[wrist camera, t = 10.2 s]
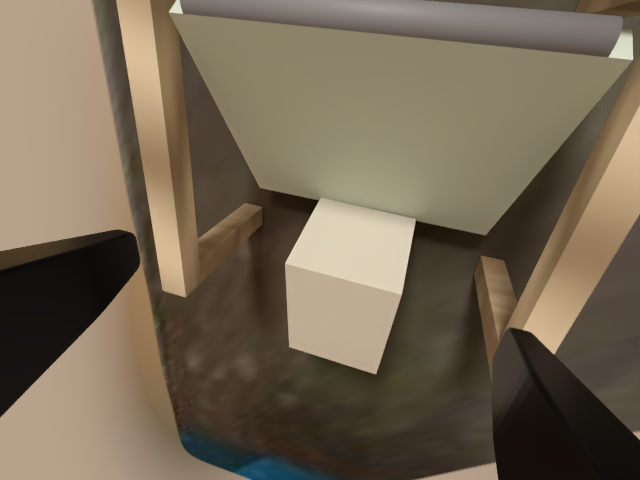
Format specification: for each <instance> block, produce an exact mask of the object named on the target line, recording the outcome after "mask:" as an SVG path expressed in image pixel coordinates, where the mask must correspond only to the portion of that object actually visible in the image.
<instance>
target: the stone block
mask: <svg viewBox="0 0 640 480" xmlns="http://www.w3.org/2000/svg"><path fill="white" fill-rule="evenodd" d="M415 222H416V219H415V218H410V217H406V216H401V215H397V214H392V213H388V212H384V211H379V210H375V209H370V208H366V207H361V206H357V205H352V204H348V203H343V202H339V201H334V200H330V199H325V198H320V200H319V202H318V204H317V205H316V207H315V209H314V211H313V213H312V215H311V217H310V218H309V220H308V222H307V224H306V226H305V228H304V229H303V231H302V233H301V235H300V237H299V239H298V241H297V242H296V244H295V246H294V248H293V250H292V252H291V254H290V255H289V257H288V259H287V261H286V263H285V271H286V291H287V311H288V331H289V347H291V348H294V349H297V350H300V351H304V352H307V353H310V354H313V355H316V356H319V357H322V358H326V359H329V360H332V361H335V362H338V363H341V364H344V365H347V366H351V367H354V368H357V369H360V370H363V371H366V372H369V373H373V374H376V373H377V370H378V367H379V364H380V361H381V358H382V354H383V351H384V348H385V345H386V342H387V339H388V336H389V333H390V330H391V327H392V324H393V320H394V317H395V314H396V311H397V308H398V305H399V302H400V299H401V296H402V291H403V286H404V280H405V275H406V270H407V264H408V259H409V254H410V249H411V243H412V238H413V233H414V227H415Z"/></svg>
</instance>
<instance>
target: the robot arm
mask: <svg viewBox="0 0 640 480" xmlns="http://www.w3.org/2000/svg"><path fill="white" fill-rule="evenodd" d="M139 265H140V255H139V250H138V245H137V240H136V237H135V235H134V234H133V233H130V232H127V231H123V230H112V231H107V232H101V233H96V234H90V235H85V236H79V237H75V238H69V239H63V240H58V241H53V242H47V243H42V244H37V245H31V246H26V247H21V248H15V249H10V250H5V251H0V417H1V416H2V415H3V414H4V413H5V412H6V411H7V410H8V409H9V408H10V407H11V406H12V405H13V404H14V403H15V402H16V401H17V400H18V399H19V398H20V397H21V396H22V395H23V394H24V393H25V391H26V390H28V389H29V387H30V386H31V385H32V384H33V383H34V382H35V381H36V380H37V379H38V378H39V377H40V376H41V375H42V374H43V373H44V372H45V371H46V370H47V369H48V368H49V367H50V366H51V365H52V364H53V363H54V362H55V361H56V360H57V359H58V358H59V357H60V356H61V355H62V353H64V352H65V351H66V350H67V348H69V347H70V346H71V345H72V343H73V342H74V341H75V340H76V339H77V338H78V337H79V336H80V335H81V334H82V333H83V332H84V331H85V330H86V329H87V328H88V327H89V326H90V325H91V324H92V323H93V322H94V321H95V320H96V319H97V318H98V317H99V316H100V314H101V313H102V312H103V311H104V310H105V309H106V307H107V306H108V305H109V304H110V303H111V302H112V300H113V299H114V298H115V296H116V295H117V294H118V293H119V292H120V290H121V289H122V288H123V287H124V286H125V284H126V283H127V282H128V281H129V279H130V278H131V277H132V276H133V275H134V273H135V272H136V271H137V269H138V268H139ZM492 414H493V441H494V450H495V458H496V465H497V473H498V480H640V440H639V439H638V438H637V437H636V436H635V435H634V434H633V433H632V432H631V431H630V430H629V429H628V428H627V427H626V426H625V425H624V424H623V423H622V422H621V421H620V420H619V419H618V418H617V417H616V416H615V415H614V414H613V413H612V412H611V411H610V410H609V409H608V408H607V407H606V406H605V405H604V404H603V403H602V402H601V401H600V400H599V399H598V398H597V397H596V396H595V395H594V394H593V393H592V392H591V391H590V390H589V389H588V388H587V387H586V386H585V385H584V384H583V383H582V382H581V381H580V380H579V379H578V378H577V377H576V376H575V375H574V374H573V373H572V372H571V371H570V370H569V369H568V368H567V367H566V366H565V365H564V364H563V363H562V362H561V361H560V360H559V359H558V358H557V357H556V356H555V355H554V354H553V353H552V352H551V351H550V350H549V349H548V348H547V347H546V346H545V345H544V344H543V343H542V342H541V341H540V340H539V339H538V338H537V337H536V336H535V335H534V334H532V333H531V332H529V331H526V330H521V329H517V328H513V327H510V328H508V329H507V330H506V331H505V332H504V334H503V337H502V339H501V341H500V343H499V345H498V347H497V349H496V351H495V354H494V356H493V360H492Z"/></svg>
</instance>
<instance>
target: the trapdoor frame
mask: <svg viewBox="0 0 640 480" xmlns="http://www.w3.org/2000/svg"><path fill="white" fill-rule="evenodd" d="M116 1H117V7H118V14H119V20H120V26H121V32H122V39H123V45H124V51H125V57H126V64H127V70H128V76H129V82H130V89H131V95H132V101H133V107H134V114H135V120H136V126H137V133H138V139H139V145H140V151H141V158H142V164H143V170H144V176H145V183H146V189H147V195H148V201H149V208H150V214H151V220H152V226H153V233H154V239H155V245H156V251H157V258H158V264H159V270H160V276H161V283H162V289H163V291H166V292H169V293H173V294H176V295H179V296H183V297H187V296H188V295H189V294H190V293H191V292H192V291H193V290H194V289H195V288H196V287H197V286H198V285H199V284H200V283H201V282H202V281H203V280H205V279H206V278H207V277H208V276H209V275H210V274H211V273H212V272H213V271H214V270H215V269H216V268H217V267H218V266H219V265H220V264H221V263H222V262H223V261H224V260H225V259H226V258H227V257H229V256H230V255H231V254H232V253H233V252H234V251H235V250H236V249H237V248H238V247H239V246H240V245H241V244H242V243H243V242H244V241H245V240H246V239H247V238H248V237H249V236H250V235H251V234H253V233H254V232H255V231H256V230H257V229H258V228H259V227H260V226H261V225H262V224H263V207H261V206H256V205H252V204H247V203H245V204H243V205H242V206H241V207H240V208H238V209H237V210H236V211H234V212H233V213H232V214H230V215H229V216H228V217H226V218H225V219H224V220H223V221H221V222H220V223H219V224H217V225H216V226H215V227H213V228H212V229H211V230H209V231H208V232H207V233H206V234H204V235H203V236H202V237H200V238H199V239H198V240H197V229H196V218H195V206H194V195H193V184H192V173H191V162H190V151H189V140H188V128H187V117H186V106H185V95H184V84H183V73H182V61H181V50H180V39H179V31H178V29H177V28H176V26H175V24H174V22H173V20H172V18H171V16H170V14H169V11H170V9H171V8H172V6H173V5H174V3H175V1H176V0H116ZM575 12H576V13H588V14H601V15H613V16H621V17H622V18H626V17H631V16H636V15H640V0H579V1H578V4H577V7H576V9H575ZM639 214H640V53H639V55H638V57H637V60H636V62H635V64H634V66H633V68H632V70H631V72H630V74H629V76H628V78H627V80H626V82H625V84H624V86H623V88H622V90H621V92H620V94H619V96H618V99H617V101H616V103H615V105H614V107H613V109H612V111H611V113H610V115H609V117H608V119H607V121H606V123H605V125H604V127H603V129H602V131H601V133H600V136H599V138H598V140H597V142H596V144H595V146H594V148H593V150H592V152H591V154H590V156H589V158H588V160H587V162H586V164H585V166H584V168H583V170H582V172H581V175H580V177H579V179H578V181H577V183H576V185H575V187H574V189H573V191H572V193H571V195H570V197H569V199H568V201H567V203H566V205H565V207H564V209H563V212H562V214H561V216H560V218H559V220H558V222H557V224H556V226H555V228H554V230H553V232H552V234H551V236H550V238H549V240H548V242H547V244H546V246H545V249H544V251H543V253H542V255H541V257H540V259H539V261H538V263H537V265H536V267H535V269H534V271H533V273H532V275H531V277H530V279H529V281H528V283H527V285H526V288H525V290H524V292H523V294H522V296H521V298H520V300H519V302H518V303H517V300H516V297H515V293H514V290H513V287H512V284H511V281H510V278H509V275H508V271H507V268H506V265H505V262H504V260H499V259H495V258H490V257H486V256H480V259H479V261H478V264H477V266H476V269H475V272H474V277H475V283H476V290H477V296H478V302H479V308H480V314H481V321H482V327H483V333H484V339H485V345H486V351H487V358H488V364H489V370H490V376H491V382H492V360H493V356H494V354H495V351H496V349H497V347H498V345H499V343H500V341H501V339H502V337H503V334H504V332H505V331H506V330H507V329H508V328H510V327H513V328H517V329H521V330H526V331H529V332H531V333H532V334H534V335H535V336H536V337H537V338H538V339H539V340H540V341H541V342H542V343H543V344H544V345H545V346H546V347H547V348H548V349H549V350H550V351H551V352H552V353H553V354H555V352H556V350H557V349H558V347H559V345H560V344H561V342H562V341H563V339H564V337H565V336H566V334H567V332H568V331H569V329H570V327H571V326H572V324H573V323H574V321H575V319H576V318H577V316H578V314H579V313H580V311H581V309H582V308H583V306H584V305H585V303H586V301H587V300H588V298H589V296H590V295H591V293H592V291H593V290H594V288H595V286H596V285H597V283H598V282H599V280H600V278H601V277H602V275H603V273H604V272H605V270H606V268H607V267H608V265H609V264H610V262H611V260H612V259H613V257H614V255H615V254H616V252H617V250H618V249H619V247H620V246H621V244H622V242H623V241H624V239H625V237H626V236H627V234H628V232H629V231H630V229H631V227H632V226H633V224H634V223H635V221H636V219H637V218H638V216H639Z"/></svg>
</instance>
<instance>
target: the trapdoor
mask: <svg viewBox="0 0 640 480" xmlns="http://www.w3.org/2000/svg"><path fill="white" fill-rule="evenodd" d="M169 14H170V16H171V18H172V20H173V22H174V24H175V26H176V28H177V29H178V31H179V33H180V35H181V37H182V39H183V41H184V43H185V45H186V47H187V49H188V51H189V53H190V54H191V56H192V58H193V60H194V62H195V64H196V66H197V68H198V70H199V72H200V74H201V76H202V78H203V79H204V81H205V83H206V85H207V87H208V89H209V91H210V93H211V95H212V97H213V99H214V101H215V102H216V104H217V106H218V108H219V110H220V112H221V114H222V116H223V118H224V120H225V122H226V124H227V126H228V127H229V129H230V131H231V133H232V135H233V137H234V139H235V141H236V143H237V145H238V147H239V149H240V151H241V152H242V154H243V156H244V158H245V160H246V162H247V164H248V166H249V168H250V170H251V172H252V174H253V175H254V177H255V179H256V181H257V183H258V185H259V187H260V188H263V189H267V190H272V191H277V192H282V193H286V194H291V195H296V196H301V197H305V198H310V199H315V200H320V198H325V199H330V200H334V201H339V202H343V203H348V204H352V205H357V206H361V207H366V208H370V209H375V210H379V211H384V212H388V213H392V214H397V215H401V216H406V217H410V218H415V219H416V221H419V222H424V223H429V224H434V225H438V226H443V227H448V228H453V229H458V230H462V231H467V232H472V233H477V234H481V235H486V234H487V233H488V232H489V231H490V230H491V229H492V227H493V226H494V225H495V224H496V223H497V221H498V220H499V219H500V218H501V217H502V215H503V214H504V213H505V212H506V211H507V209H508V208H509V207H510V206H511V205H512V204H513V202H514V201H515V200H516V199H517V198H518V196H519V195H520V194H521V193H522V192H523V190H524V189H525V188H526V187H527V186H528V184H529V183H530V182H531V181H532V180H533V179H534V177H535V176H536V175H537V174H538V173H539V171H540V170H541V169H542V168H543V167H544V165H545V164H546V163H547V162H548V161H549V159H550V158H551V157H552V156H553V155H554V154H555V152H556V151H557V150H558V149H559V148H560V146H561V145H562V144H563V143H564V142H565V140H566V139H567V138H568V137H569V136H570V134H571V133H572V132H573V131H574V130H575V129H576V127H577V126H578V125H579V124H580V123H581V121H582V120H583V119H584V118H585V117H586V115H587V114H588V113H589V112H590V111H591V109H592V108H593V107H594V106H595V105H596V104H597V102H598V101H599V100H600V99H601V98H602V96H603V95H604V94H605V93H606V92H607V90H608V89H609V88H610V87H611V86H612V84H613V83H614V82H615V81H616V80H617V79H618V77H619V76H620V75H621V74H622V73H623V71H624V70H625V69H626V68H627V67H628V65H629V64H630V63H631V62H632V61H633V37H632V29H628V28H622V26H623V18H622V17H621V16H613V15H601V14H588V13H576V12H563V11H551V10H538V9H526V8H513V7H501V6H488V5H476V4H463V3H451V2H438V1H426V0H176V1H175V3H174V5H173V6H172V8H171V9H170V11H169Z"/></svg>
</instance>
